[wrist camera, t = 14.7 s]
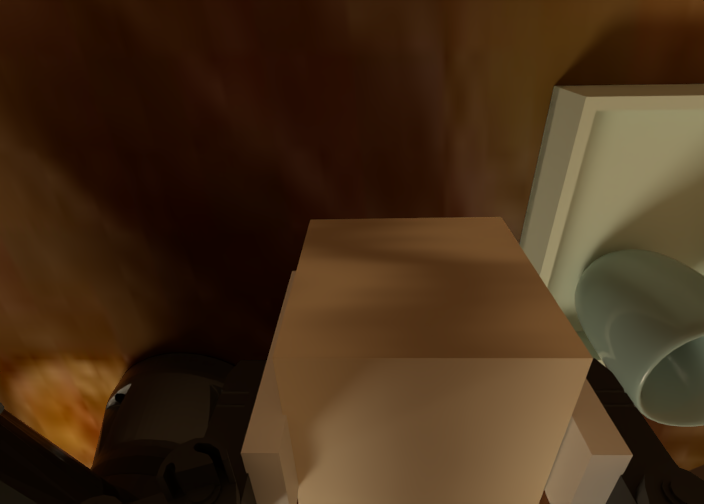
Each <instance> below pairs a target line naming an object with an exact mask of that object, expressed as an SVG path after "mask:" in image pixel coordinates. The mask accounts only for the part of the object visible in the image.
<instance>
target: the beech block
mask: <svg viewBox="0 0 704 504" xmlns="http://www.w3.org/2000/svg"><path fill="white" fill-rule="evenodd" d="M272 359H273V365H274V370H275V376H276V381H277V387H278V392H279V398H280V403H281V409H282V414H283V415H287V421H288V427H289V433H290V438H291V444H292V450H293V456H294V461H295V467H296V473H297V479H298V484H299V489H298V496H297V497H298V502H299V504H539V501H540V499H541V496H542V493H543V491H544V488H545V485H546V483H547V480H548V477H549V475H550V472H551V469H552V467H553V464H554V461H555V459H556V456H557V453H558V451H559V448H560V445H561V443H562V440H563V437H564V435H565V432H566V429H567V427H568V424H569V421H570V419H571V416H572V413H573V411H574V408H575V405H576V403H577V400H578V397H579V395H580V392H581V389H582V387H583V384H584V381H585V379H586V376H587V373H588V371H589V368H590V365H591V363H592V360H593V357H592V356H591V354H590V353H589V351H588V350H587V348H586V347H585V345H584V344H583V342H582V340H581V339H580V337H579V336H578V334H577V333H576V331H575V330H574V328H573V327H572V325H571V324H570V322H569V320H568V319H567V317H566V316H565V314H564V313H563V311H562V310H561V308H560V307H559V305H558V304H557V302H556V300H555V299H554V297H553V296H552V294H551V293H550V291H549V290H548V288H547V287H546V285H545V284H544V282H543V280H542V279H541V277H540V276H539V274H538V273H537V271H536V270H535V268H534V267H533V265H532V264H531V262H530V260H529V259H528V257H527V256H526V254H525V253H524V251H523V250H522V248H521V247H520V245H519V243H518V242H517V240H516V239H515V237H514V236H513V234H512V233H511V231H510V230H509V228H508V227H507V225H506V223H505V222H504V220H503V219H502V217H462V218H389V219H315V220H310V223H309V226H308V230H307V234H306V237H305V241H304V245H303V248H302V252H301V255H300V259H299V263H298V266H297V270H296V274H295V277H294V281H293V284H292V288H291V292H290V295H289V299H288V303H287V306H286V310H285V313H284V317H283V321H282V324H281V328H280V332H279V335H278V339H277V343H276V346H275V350H274V353H273V357H272Z"/></svg>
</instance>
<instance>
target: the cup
mask: <svg viewBox="0 0 704 504" xmlns="http://www.w3.org/2000/svg"><path fill="white" fill-rule="evenodd" d="M574 304H575V310H576V315H577V318H578V320H579V323H580V325H581V327H582V329H583V331H584V333H585V334H586V336H587V338H588V340H589V341H590V343H591V345H592V347H593V348H594V350H595V351H596V353H597V354H598V356H599V357H600V359H601V360H602V362H603V363H604V365H605V366H606V368H608V369H609V370H610V371H611V372H612V373H613V374H614V375H615V377H616V378H617V380H618V381H619V383H620V384H621V386H622V387H623V388H624V392H625V393H627V394H628V396H629V397H630V399H631V400H632V401H633V403H634V406H635V407H637V409H638V410H639V411H640V412H641V413H642V414H643V415H645V416H646V417H647V418H649V419H651V420H654V421H656V422H658V423H662V424H666V425H671V426H682V427H684V426H702V425H704V275H703V274H701V273H699V272H698V271H696V270H694V269H693V268H691V267H689V266H688V265H686V264H684V263H682V262H680V261H678V260H676V259H674V258H672V257H670V256H667V255H664V254H661V253H658V252H654V251H650V250H643V249H624V250H618V251H614V252H611V253H608V254H605V255H603V256H601V257H599V258H598V259H596V260H595V261H593V262H592V263H591V264H590V265H589V266H588V267H587V268H586V269H585V271H584V272H583V274H582V275H581V276H580V279H579V281H578V283H577V285H576V289H575V295H574Z"/></svg>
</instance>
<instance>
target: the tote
mask: <svg viewBox="0 0 704 504" xmlns="http://www.w3.org/2000/svg"><path fill="white" fill-rule="evenodd" d="M519 245H520V247H521V248H522V250H523V251H524V253H525V254H526V256H527V257H528V259H529V260H530V262H531V264H532V265H533V267H534V268H535V270H536V271H537V273H538V274H539V276H540V277H541V279H542V280H543V282H544V284H545V285H546V287H547V288H548V290H549V291H550V293H551V294H552V296H553V297H554V299H555V300H556V302H557V304H558V305H559V307H560V308H561V310H562V311H563V313H564V314H565V316H566V317H567V319H568V320H569V322H570V324H571V325H572V327H573V328H574V330H575V331H576V333H577V334H578V336H579V337H580V339H581V340H582V342H583V344H584V345H585V347H586V348H587V350H588V351H589V353H590V354H591V356H592V357H593V358H595V359H596V360H598V361H599V362H600V363H601V364H603V365H604V363H603V362H602V360H601V359H600V357H599V356H598V354H597V353H596V351H595V350H594V348H593V347H592V345H591V343H590V341H589V340H588V338H587V336H586V334H585V333H584V331H583V329H582V327H581V325H580V323H579V320H578V318H577V315H576V310H575V304H574V295H575V289H576V285H577V283H578V281H579V279H580V276H581V275H582V274H583V272H584V271H585V269H586V268H587V267H588V266H589V265H590V264H591V263H592V262H593V261H595V260H596V259H598V258H599V257H601V256H603V255H605V254H608V253H611V252H614V251H618V250H624V249H643V250H650V251H654V252H658V253H661V254H664V255H667V256H670V257H672V258H674V259H676V260H678V261H680V262H682V263H684V264H686V265H688V266H689V267H691V268H693V269H694V270H696V271H698V272H699V273H701V274H703V275H704V84H656V85H582V86H554V89H553V93H552V98H551V102H550V107H549V112H548V116H547V121H546V125H545V130H544V134H543V139H542V143H541V148H540V153H539V157H538V162H537V166H536V171H535V175H534V180H533V185H532V189H531V194H530V198H529V203H528V207H527V212H526V216H525V221H524V226H523V230H522V235H521V239H520V244H519ZM604 366H605V365H604ZM605 367H606V366H605Z"/></svg>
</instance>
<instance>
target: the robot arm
mask: <svg viewBox="0 0 704 504" xmlns="http://www.w3.org/2000/svg"><path fill="white" fill-rule="evenodd" d="M295 274H296V271H292V273H291V277H290V280H289V284H288V287H287V291H286V295H285V298H284V302H283V305H282V309H281V312H280V316H279V319H278V323H277V326H276V330H275V333H274V337H273V341H272V344H271V348H270V351H269V355H268V358H267V360H240V361H239V362H238V363H237V365H236V366H233V365H231V364H229V363H226V362H224V361H221V360H218V359H215V358H211V357H207V356H203V355H197V354H187V353H172V354H163V355H158V356H154V357H150V358H148V359H145V360H143V361H141V362H139V363H137V364H135V365H134V366H133V367H131V368H130V369H129V370H128V371H127V372H126V373H125V374H124V376H123V377H122V378H121V380H120V382H119V383H118V385H117V386H116V388H115V389H114V391H113V392H112V394H111V396H110V398H109V400H108V402H107V406H106V410H105V414H104V418H103V423H102V427H101V431H100V436H99V440H98V444H97V448H96V453H95V457H94V461H93V465H92V467H91V469H89V468H88V467H86V466H85V465H83V464H82V463H80V462H79V461H78V460H76V459H75V458H73V457H72V456H70V455H69V454H68V453H66V452H65V451H63V450H62V449H61V448H59V447H58V446H56V445H55V444H53V443H52V442H51V441H49V440H48V439H46V438H45V437H43V436H42V435H41V434H39V433H38V432H36V431H35V430H33V429H32V428H31V427H29V426H28V425H26V424H25V423H24V422H22V421H21V420H19V419H18V418H16V417H15V416H14V415H12V414H11V413H9V412H8V411H6V410H5V409H4V406H3V405H2V404H1V403H0V504H296V503H297V496H298V489H299V484H298V479H297V473H296V467H295V461H294V456H293V450H292V444H291V438H290V433H289V427H288V421H287V415H283V414H282V409H281V403H280V398H279V392H278V387H277V381H276V376H275V370H274V365H273V359H272V357H273V353H274V350H275V346H276V343H277V339H278V335H279V332H280V328H281V324H282V321H283V317H284V313H285V310H286V306H287V303H288V299H289V295H290V292H291V288H292V284H293V281H294V277H295ZM544 489H545V492H546V495H547V497H548V500H549V503H550V504H704V481H703V480H702V479H700V478H699V477H697V476H696V475H694V474H693V473H691V472H689V471H687V470H684V469H682V468H679V467H678V466H677V464H676V463H675V462H674V461H673V459H672V458H671V456H670V455H669V453H668V452H667V451H666V449H665V448H664V446H663V445H662V443H661V442H660V440H659V439H658V438H657V436H656V435H655V433H654V432H653V430H652V429H651V427H650V426H649V425H648V423H647V422H646V420H645V419H644V417H643V416H642V414H641V413H640V412H639V410H638V409H637V407H634V403H633V401H632V400H631V399H630V397H629V396H628V394H627V393H625V392H624V388H623V387H622V386H621V384H620V383H619V381H618V380H617V378H616V377H615V375H614V374H613V373H612V372H611V371H610V370H609V369H608V368H606V367H605V366H604V365H603V364H601V363H600V362H599V361H598V360H596V359H595V358H593V360H592V363H591V365H590V368H589V371H588V373H587V376H586V379H585V381H584V384H583V387H582V389H581V392H580V395H579V397H578V400H577V403H576V405H575V408H574V411H573V413H572V416H571V419H570V421H569V424H568V427H567V429H566V432H565V435H564V437H563V440H562V443H561V445H560V448H559V451H558V453H557V456H556V459H555V461H554V464H553V467H552V469H551V472H550V475H549V477H548V480H547V483H546V485H545V488H544Z"/></svg>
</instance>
